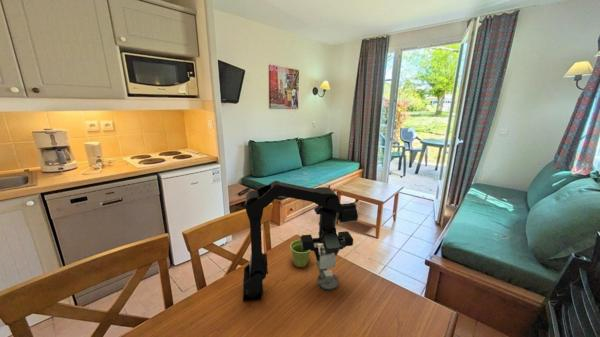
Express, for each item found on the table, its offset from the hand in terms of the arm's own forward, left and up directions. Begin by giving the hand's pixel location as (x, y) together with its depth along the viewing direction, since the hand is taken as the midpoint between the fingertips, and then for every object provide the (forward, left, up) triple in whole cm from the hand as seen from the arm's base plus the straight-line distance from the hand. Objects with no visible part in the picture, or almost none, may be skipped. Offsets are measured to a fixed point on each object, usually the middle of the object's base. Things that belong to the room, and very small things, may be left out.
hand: (325, 259), depth 89 cm
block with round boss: (0, 0, -2) cm, 2 cm away
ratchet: (+2, +5, -12) cm, 13 cm away
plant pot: (-7, +14, -12) cm, 19 cm away
